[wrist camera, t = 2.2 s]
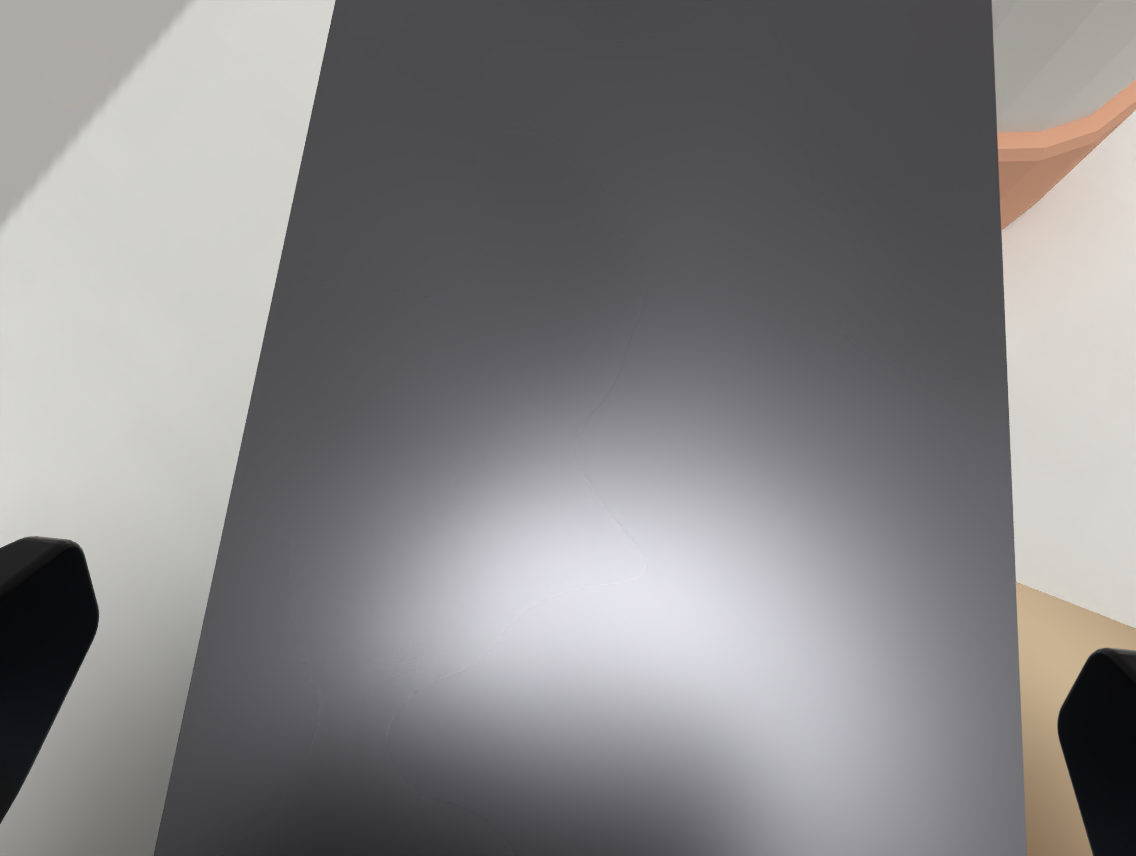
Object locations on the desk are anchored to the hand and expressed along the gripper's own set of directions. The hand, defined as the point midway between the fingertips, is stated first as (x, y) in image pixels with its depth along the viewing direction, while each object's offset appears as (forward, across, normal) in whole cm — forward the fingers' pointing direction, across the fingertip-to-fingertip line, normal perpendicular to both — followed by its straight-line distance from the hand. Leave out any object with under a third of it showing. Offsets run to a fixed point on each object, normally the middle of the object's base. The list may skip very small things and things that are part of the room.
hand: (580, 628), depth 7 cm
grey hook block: (+7, 0, +5) cm, 9 cm away
